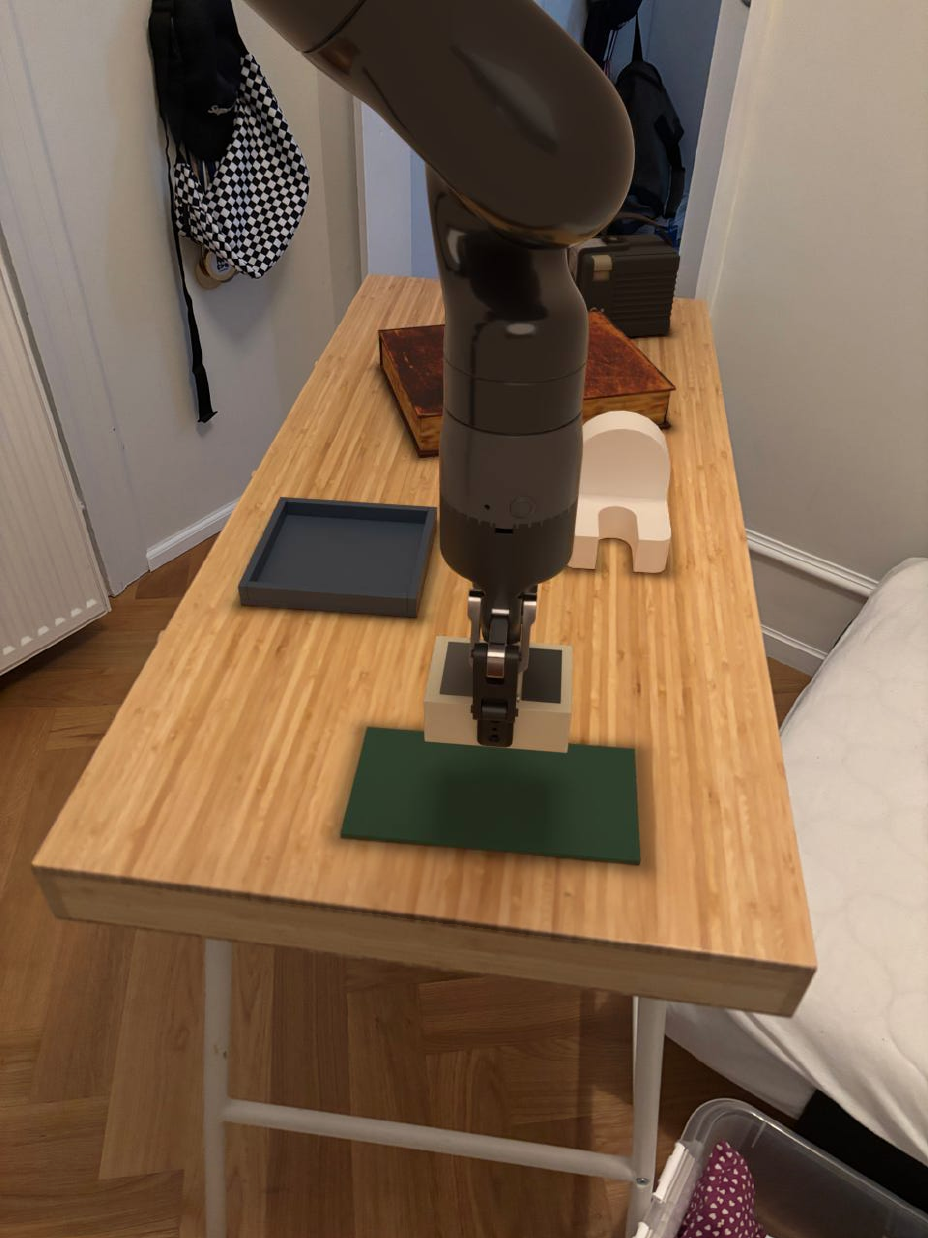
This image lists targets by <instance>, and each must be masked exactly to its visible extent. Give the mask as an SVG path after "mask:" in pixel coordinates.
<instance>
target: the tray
mask: <svg viewBox="0 0 928 1238" xmlns="http://www.w3.org/2000/svg"><path fill="white" fill-rule="evenodd" d="M269 517H270V518H269V519H268V522H267V523H266V526H265V528H264V530H263V532H262V534H261V535H260V538H259V541H258V542H257V545H256V547H255V549H254V550H253V553H252V555H251V557H250V559H249V561H248V563H247V565H246V568H245V570H244V572H243V574H242V576H241V578H240V580H239V583H238V584H237V590H238V595H239V600H240V605H243V606H256V607H268V608H285V609H296V610H297V609H298V610H310V611H325V612H337V613H351V614H363V615H364V614H365V615H378V616H390V617H391V616H392V617H406V618H417V617H418V613H419V609H420V604H421V599H422V596H423V590H424V586H425V582H426V577H427V573H428V568H429V564H430V559H431V555H432V550H433V546H434V541H435V536H436V532H437V529H438V506H430V505H429V506H428V505H427V506H426V505H411V504H399V503H384V502H383V503H382V502H381V503H380V502H367V501H351V500H350V501H349V500H336V499H322V498H305V497H292V496H280V497H279V499H278V500H277V502H276V505H275V507H274V508H273V511H272V513H271V515H270V516H269Z"/></svg>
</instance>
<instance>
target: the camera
mask: <svg viewBox="0 0 928 1238" xmlns="http://www.w3.org/2000/svg"><path fill="white" fill-rule="evenodd" d="M620 220H636V221H642V222H644V223H647V224H649V225H652V226H654V227H655V228H657V229H658V230H659V231H660V233H661V234H662V236H663V238H664V239H663V238H662V237H660V235H658V234H657V233H656V234H655V233H651V234H648V233H647V234H633V235H631V234H630V235H608V230H609V227H610V226H611V225H612V224H613V223H615V222H617V221H620ZM599 233H600V236H599V235H598V236H597V235H595V236H594V237H592V238H591V239H589V240H587V241H585V242H583V243H581V244H579V245H576V246H573V247H570V248H567V249H566V253H567V262H568V267H569V271H570V274H571V276H572V279H573V281H574V283H575V285H576V286H577V288H578V290H579V292H580V293H581V295H582V297H583V299H584V301H585V304H586V307H587V311H596V310H601V311H602V312H603V313H604V314H605V315H606V316H607V317H608V318H609V319H610V320H611V321H612V322H613V323H614V324H615V325H616V326H617V327H618V328H619V329H620V330H621V331H622V332H623V333H624V334H625V335H626V336H627V337H628V338H630V337H642V336H643V337H644V336H656V335H659V336H660V335H668V334H669V333H670V328H671V322H672V320H671V316H672V310H673V304H674V298H675V291H676V285H677V278H678V271H679V270H680V264H681V255H680V254H679V252H678V251H676V250H675V249H674V245H673V242H672V239H671V238H670V236H669V235H668V233H667V232H666V231H665V229H663V228H662V227H661V226H660V225H658V224H657V223H656V222H654V221H653V220H652V219H650V218H648V217H646V216H644V215H641V214H638V213H633V212H624V211H620V212H619V211H618V212H617V214H616V215H615V216H614V218H613V219H612V220H611V221H610V223H609V224H608V225H607V226H606V227H605V228H604V229H603V230H601V231H600V232H599Z"/></svg>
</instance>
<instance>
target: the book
mask: <svg viewBox="0 0 928 1238" xmlns="http://www.w3.org/2000/svg"><path fill="white" fill-rule="evenodd" d="M588 317H589V346H588V356H587V358H588V359H587V369H586V379H585V389H584V399H583V406H582V426H583V425H584V424H585V423H586V422H587V421H589V420H591V419H592V418H594V417H596V416H598V415H601V414H604V413H607V412H611V411H628V412H634V413H638V414H640V415H642V416H644V417H647V418H649V419H650V420H651V421H652V422H653V423H655V424H656V425H657V426H658V427H659V429H660V430H666V429H671V424H670V423H669V422H668V420H667V416H668V410H669V403H670V398H671V392H675V391H677V387H676V385H674V384H673V382H672V381H670V379H669V378H668V377H666V375H665V374H664V373H663V372H662V371H661V370H660V369H659V368H658V367H657V366H656V365H655V364H654V363H653V362H652V361H651V360H650V359H649V358H648V357H647V356H646V355H645V353H644V352H643V351H642V350H640V348H639V347H637V345H636V344H634V342H632V340H631V339H630V337H627V336H626V335H625V334H624V333H623V332H622V331H621V330H620V329H619V328H618V327H617V326H616V325H615V324H614V323H613V322H612V321H611V320H610V319H609V318H608V317H607V316H606V315H605V314H604V313H603V312H602V311H601V310H596V311H588ZM444 329H445V323H441V324H440V323H439V324H429V325H418V326H407V327H406V326H405V327H396V328H395V327H394V328H384V329H378V330H377V334H378V335H377V336H378V354H379V369H380V371H381V374H382V375H383V379H384V380H385V383H386V385H387V387H388V389H389V391H390V394H391V396H392V399H393V400H394V403H395V405H396V408H397V410H398V412H399V414H400V417H401V419H402V421H403V423H404V426H405V428H406V431H407V432H408V435H409V437H410V439H411V442H412V444H413V446H414V448H415V450H416V451H415V452H416V453H417V455H418V458H420V459H421V458H430V457H437V456H438V457H439V439H440V430H441V424H442V417H443V404H444V370H443V355H444V353H443V344H444Z"/></svg>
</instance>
